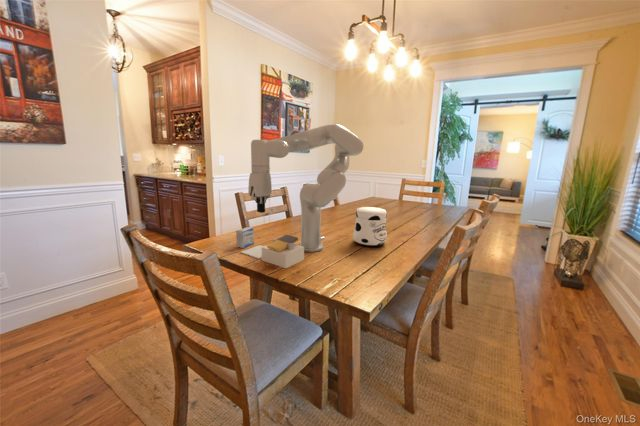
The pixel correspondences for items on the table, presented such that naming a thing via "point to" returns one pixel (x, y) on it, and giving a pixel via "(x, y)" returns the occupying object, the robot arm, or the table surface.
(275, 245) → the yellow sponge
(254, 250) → the pad
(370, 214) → the milk container
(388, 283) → the table surface
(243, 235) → the medicine box
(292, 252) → the switch box
